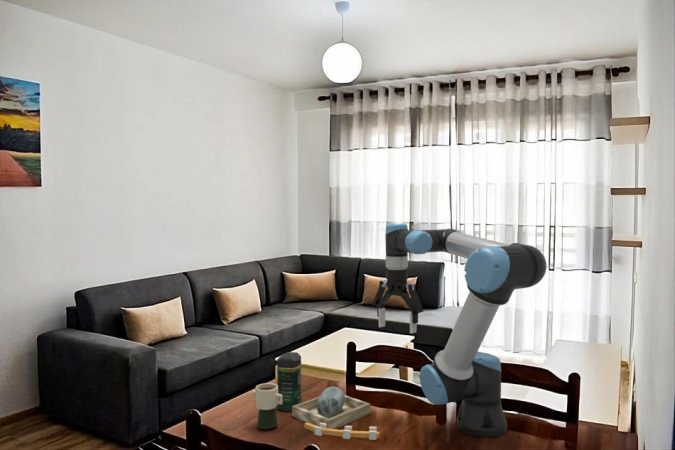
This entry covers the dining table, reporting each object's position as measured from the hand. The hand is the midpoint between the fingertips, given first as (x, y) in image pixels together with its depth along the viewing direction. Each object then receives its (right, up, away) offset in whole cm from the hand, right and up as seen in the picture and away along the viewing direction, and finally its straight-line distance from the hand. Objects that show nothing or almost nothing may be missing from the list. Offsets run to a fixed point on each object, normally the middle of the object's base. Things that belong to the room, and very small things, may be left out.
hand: (397, 329), depth 185 cm
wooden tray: (-23, -27, -7) cm, 36 cm away
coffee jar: (-37, -27, +1) cm, 46 cm away
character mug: (-43, -28, -16) cm, 53 cm away
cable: (-19, -28, -20) cm, 39 cm away
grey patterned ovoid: (-23, -27, -7) cm, 36 cm away
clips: (-18, -28, -22) cm, 40 cm away
